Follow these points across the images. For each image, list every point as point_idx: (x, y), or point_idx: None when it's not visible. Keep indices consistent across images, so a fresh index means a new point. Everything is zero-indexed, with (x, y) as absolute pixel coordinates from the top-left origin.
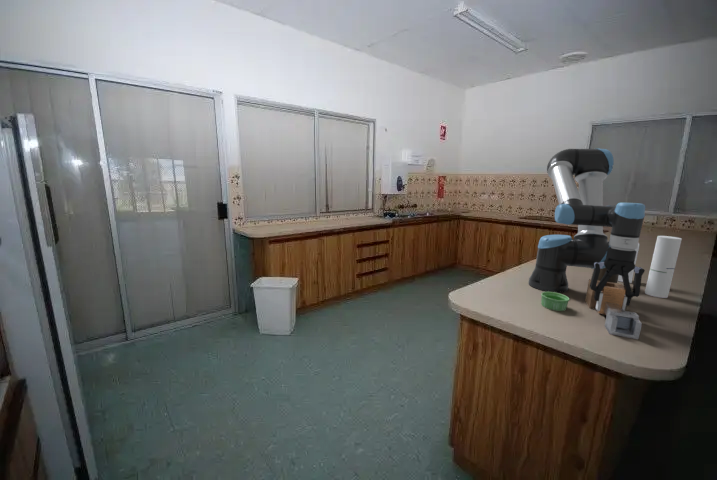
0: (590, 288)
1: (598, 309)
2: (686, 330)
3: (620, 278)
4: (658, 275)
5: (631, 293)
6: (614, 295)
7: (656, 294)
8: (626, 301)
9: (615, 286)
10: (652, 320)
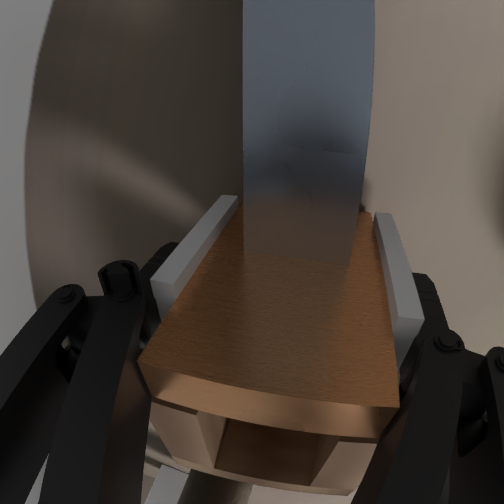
0: None
1: (386, 217)
2: (25, 176)
3: (181, 478)
4: None
5: (97, 313)
6: (270, 313)
7: None
8: (173, 253)
9: (212, 449)
10: (102, 232)
